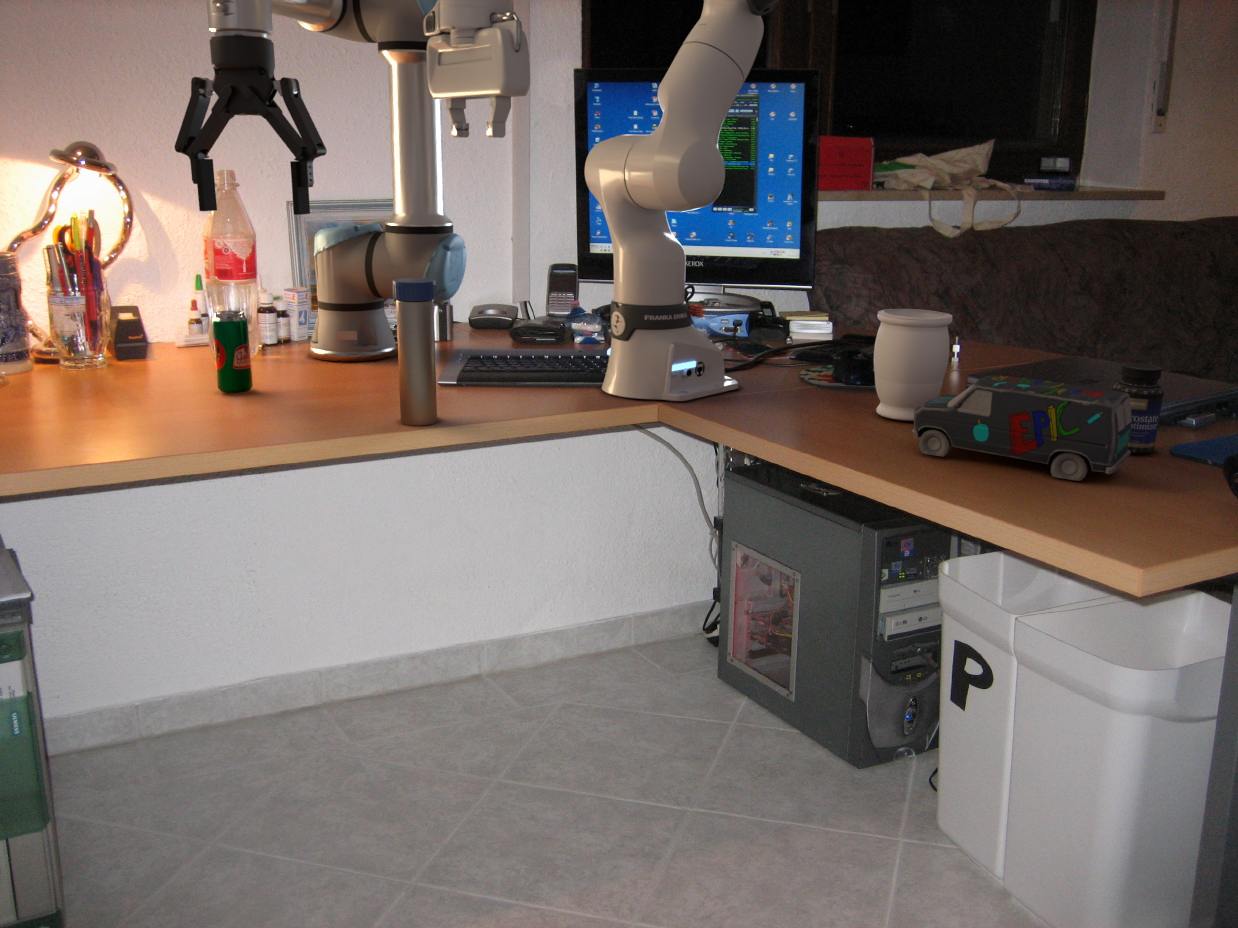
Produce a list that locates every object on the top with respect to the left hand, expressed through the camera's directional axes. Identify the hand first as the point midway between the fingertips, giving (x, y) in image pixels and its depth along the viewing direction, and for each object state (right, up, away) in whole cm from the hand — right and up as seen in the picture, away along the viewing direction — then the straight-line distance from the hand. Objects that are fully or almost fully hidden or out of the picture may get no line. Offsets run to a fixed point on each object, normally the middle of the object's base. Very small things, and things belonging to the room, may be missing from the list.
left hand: (254, 213), depth 138 cm
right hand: (+30, +8, -6) cm, 31 cm away
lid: (+20, -8, +5) cm, 22 cm away
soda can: (-12, -21, +26) cm, 35 cm away
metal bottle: (+19, -27, +10) cm, 34 cm away
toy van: (+97, -32, -3) cm, 102 cm away
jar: (+89, -26, +18) cm, 94 cm away
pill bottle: (+114, -31, +3) cm, 118 cm away
